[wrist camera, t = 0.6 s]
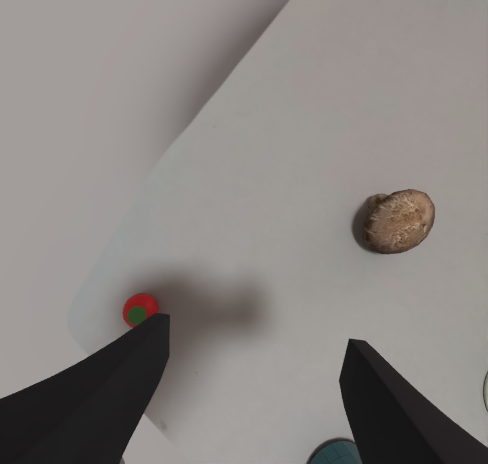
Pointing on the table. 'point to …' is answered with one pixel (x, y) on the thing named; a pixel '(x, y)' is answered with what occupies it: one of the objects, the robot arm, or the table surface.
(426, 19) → the table surface
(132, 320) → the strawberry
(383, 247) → the mushroom
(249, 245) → the table surface
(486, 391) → the can
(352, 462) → the bowl
